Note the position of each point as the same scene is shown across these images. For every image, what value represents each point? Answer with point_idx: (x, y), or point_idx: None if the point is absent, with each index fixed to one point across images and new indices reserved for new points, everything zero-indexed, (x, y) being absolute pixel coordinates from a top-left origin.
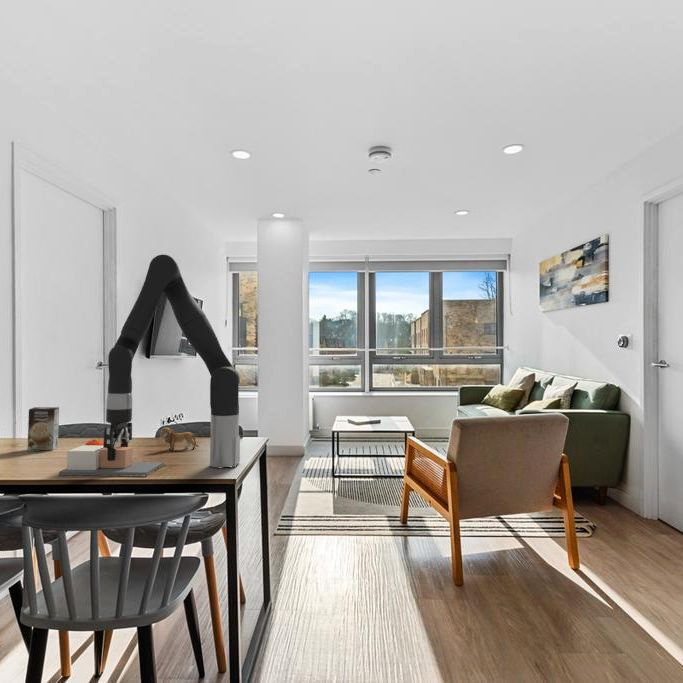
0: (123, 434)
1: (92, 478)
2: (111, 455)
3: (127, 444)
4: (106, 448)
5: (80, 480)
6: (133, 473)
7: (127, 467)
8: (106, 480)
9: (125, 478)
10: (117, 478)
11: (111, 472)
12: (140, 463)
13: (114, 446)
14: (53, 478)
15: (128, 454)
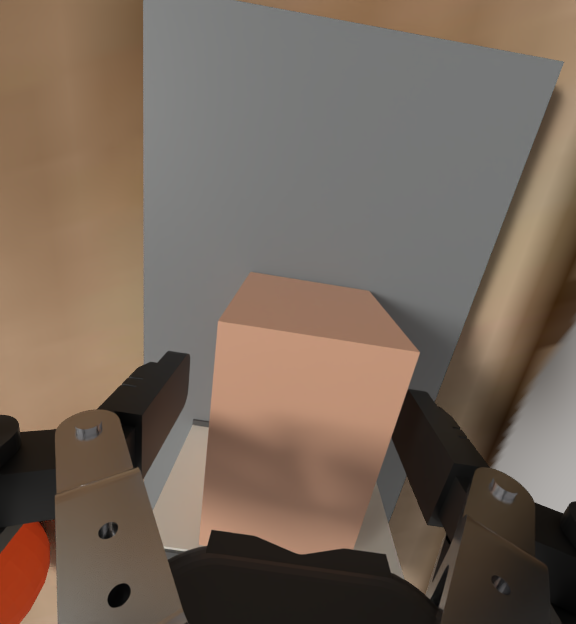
0: (222, 612)
1: (466, 419)
2: (462, 436)
3: (134, 407)
4: (280, 539)
5: (491, 458)
6: (508, 191)
7: (331, 283)
8: (545, 337)
9: (536, 234)
10: (516, 287)
11: (454, 349)
12: (204, 218)
13: (515, 495)
14: (412, 560)
15: (326, 314)
